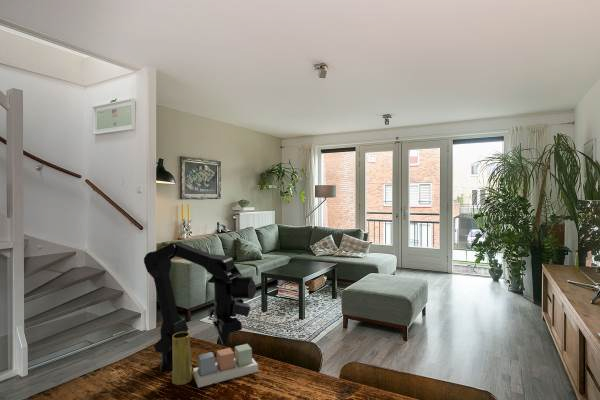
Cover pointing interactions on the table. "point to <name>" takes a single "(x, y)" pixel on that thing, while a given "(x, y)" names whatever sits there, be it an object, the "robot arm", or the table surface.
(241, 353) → the sage button
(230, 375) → the button board
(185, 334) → the vase
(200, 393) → the table surface
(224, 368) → the salmon block
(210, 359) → the pale blue block
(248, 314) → the robot arm
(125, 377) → the table surface
